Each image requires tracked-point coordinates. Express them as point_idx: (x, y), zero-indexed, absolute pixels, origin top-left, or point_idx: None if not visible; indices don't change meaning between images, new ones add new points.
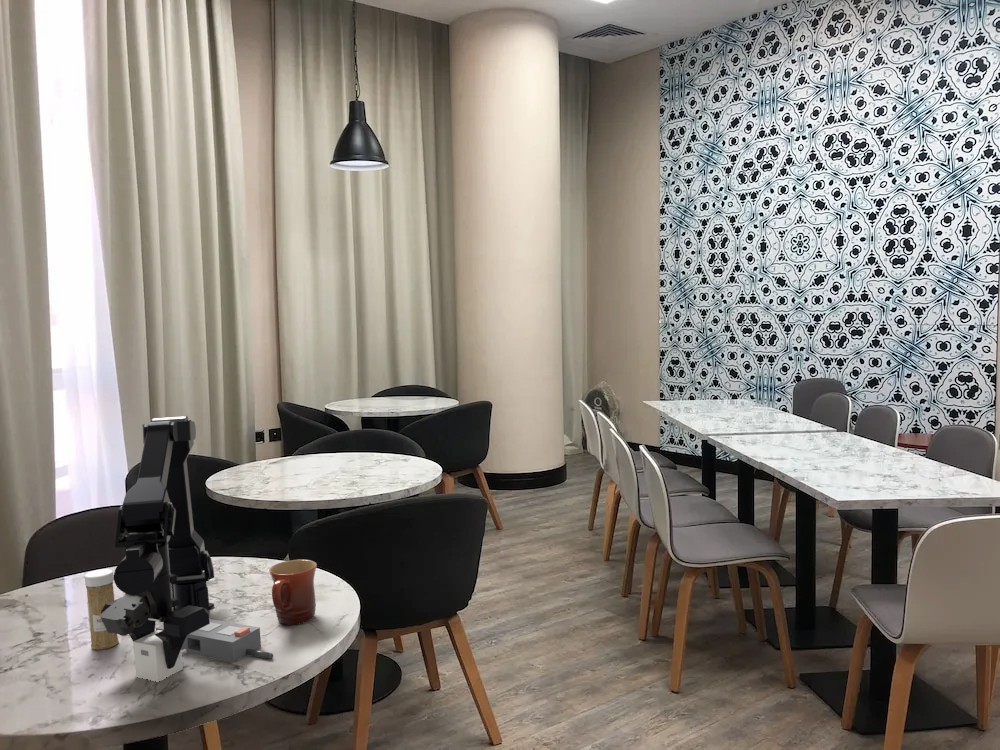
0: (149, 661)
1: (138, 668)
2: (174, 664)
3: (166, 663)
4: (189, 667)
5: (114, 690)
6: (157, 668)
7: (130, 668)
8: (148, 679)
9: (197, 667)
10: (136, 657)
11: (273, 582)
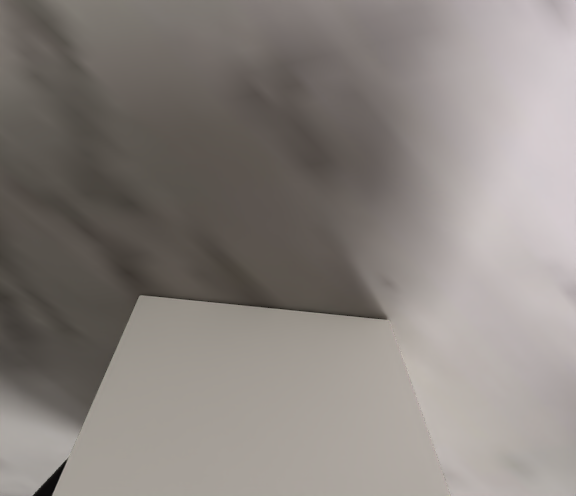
0: (198, 447)
1: (370, 375)
2: None
3: None
4: None
5: (432, 89)
6: (102, 388)
7: (523, 403)
8: (250, 309)
9: None
10: (413, 475)
11: None
